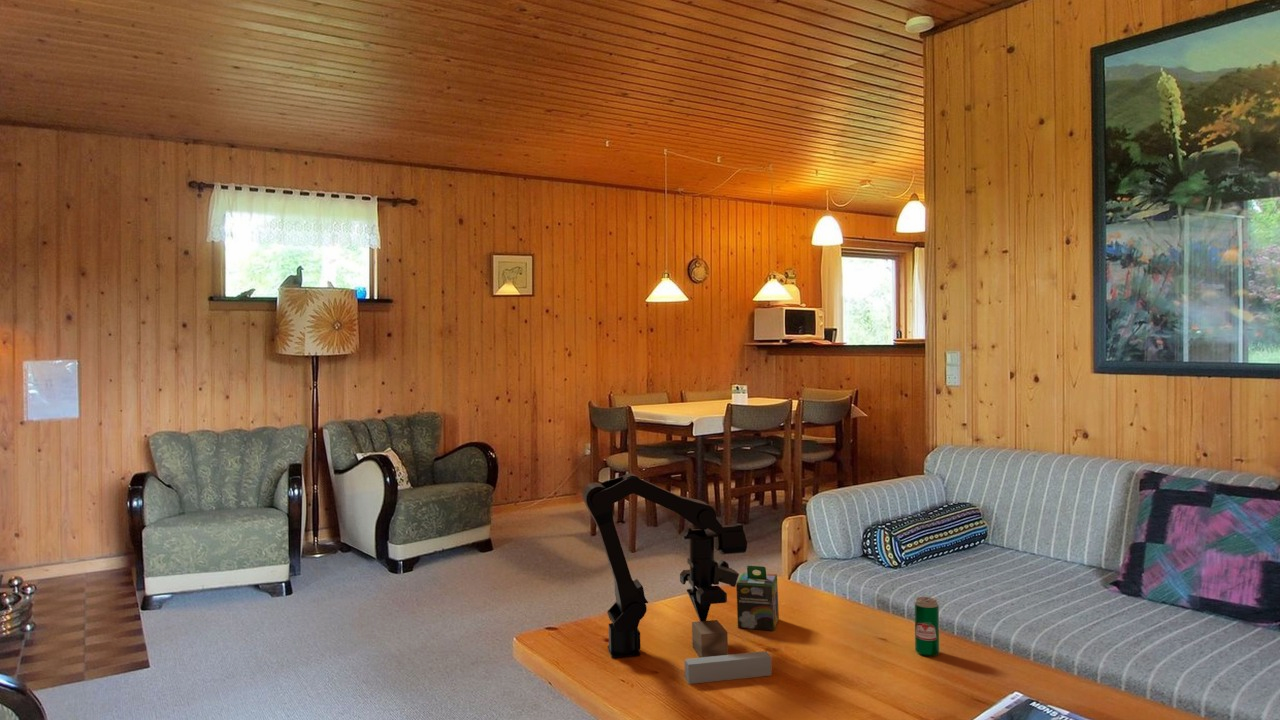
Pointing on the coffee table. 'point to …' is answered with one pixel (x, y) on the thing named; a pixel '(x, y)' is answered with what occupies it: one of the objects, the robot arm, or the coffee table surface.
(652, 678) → the coffee table surface
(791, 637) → the coffee table surface
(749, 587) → the chalk box
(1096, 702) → the coffee table surface
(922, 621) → the soda can
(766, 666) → the batten
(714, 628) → the walnut brick
